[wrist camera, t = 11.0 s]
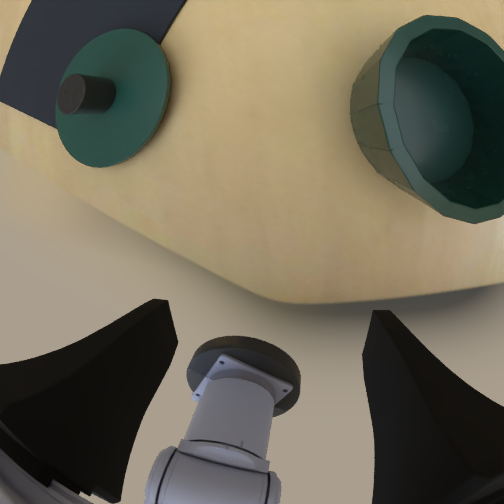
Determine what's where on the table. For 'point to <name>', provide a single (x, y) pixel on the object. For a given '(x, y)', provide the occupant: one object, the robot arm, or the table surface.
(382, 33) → the table surface
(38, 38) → the mat
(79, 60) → the tin lid
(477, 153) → the tin
